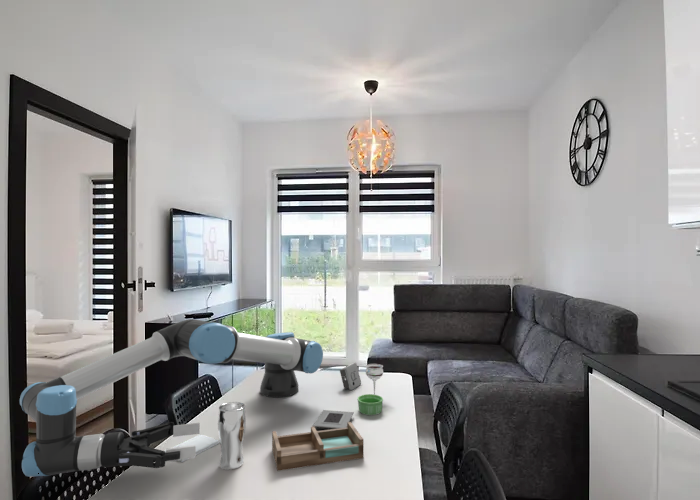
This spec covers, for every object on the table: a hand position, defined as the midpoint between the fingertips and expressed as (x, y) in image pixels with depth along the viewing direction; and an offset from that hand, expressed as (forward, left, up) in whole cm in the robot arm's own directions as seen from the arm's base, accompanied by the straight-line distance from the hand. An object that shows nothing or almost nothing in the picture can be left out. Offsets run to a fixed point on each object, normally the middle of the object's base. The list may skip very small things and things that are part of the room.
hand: (197, 438), depth 104 cm
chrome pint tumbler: (0, +8, -8) cm, 11 cm away
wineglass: (-36, +61, -8) cm, 72 cm away
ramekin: (-24, +55, -8) cm, 61 cm away
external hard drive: (-12, -2, -9) cm, 15 cm away
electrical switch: (-51, +56, -8) cm, 77 cm away
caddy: (+1, +31, -8) cm, 32 cm away
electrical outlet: (-17, +40, -8) cm, 45 cm away
